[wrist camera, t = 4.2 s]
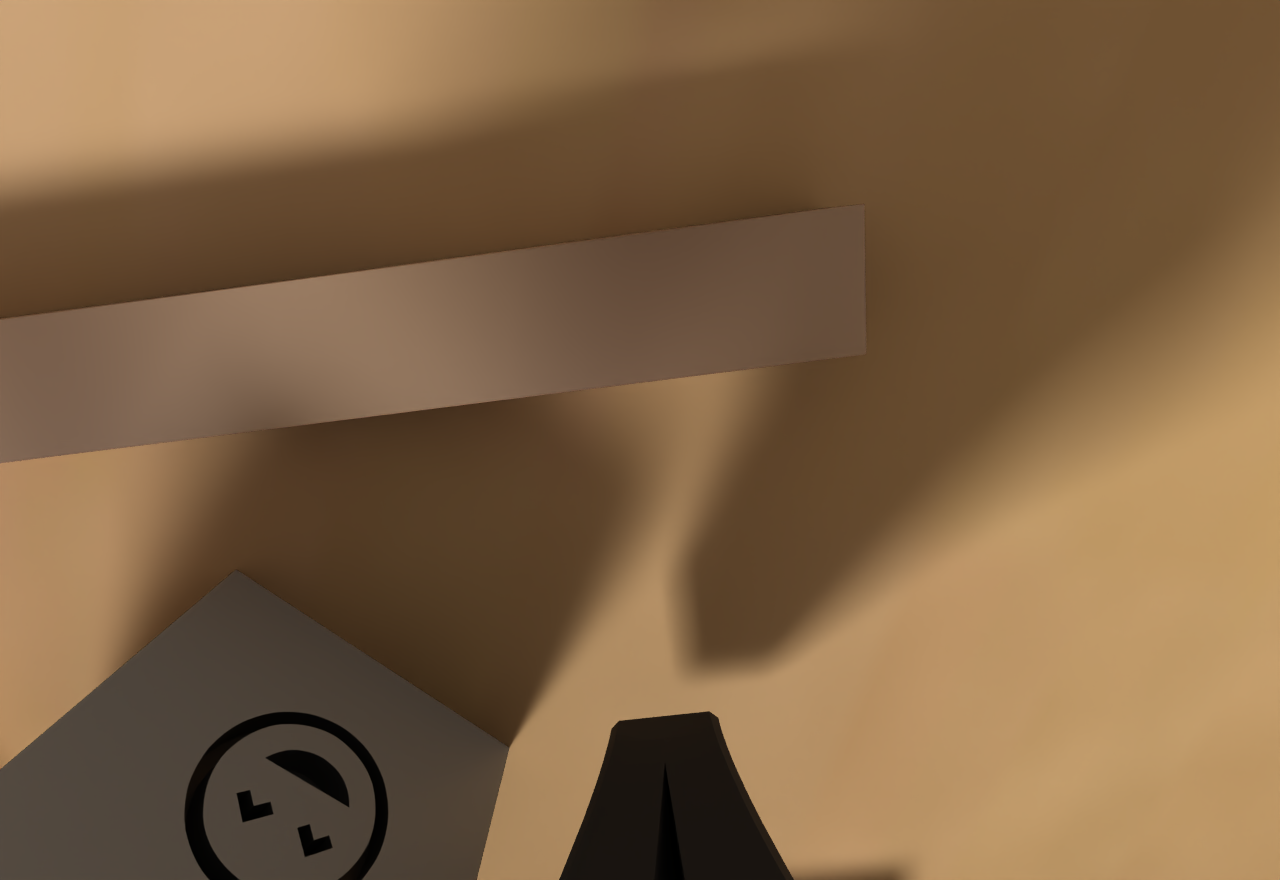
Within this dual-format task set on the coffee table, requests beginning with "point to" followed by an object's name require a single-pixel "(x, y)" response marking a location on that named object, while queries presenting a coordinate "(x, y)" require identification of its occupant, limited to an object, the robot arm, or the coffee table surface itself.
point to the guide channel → (436, 334)
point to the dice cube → (251, 763)
